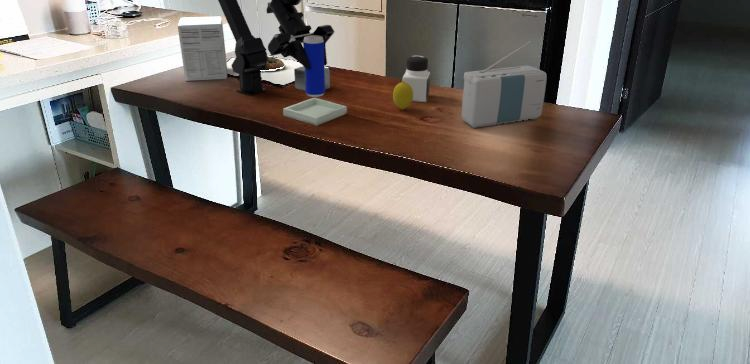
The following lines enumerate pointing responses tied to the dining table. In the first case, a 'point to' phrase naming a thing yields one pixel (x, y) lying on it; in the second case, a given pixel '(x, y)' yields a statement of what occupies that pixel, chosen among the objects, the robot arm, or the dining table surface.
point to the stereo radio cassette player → (503, 94)
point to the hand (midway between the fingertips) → (317, 66)
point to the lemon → (402, 95)
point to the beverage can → (314, 66)
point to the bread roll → (273, 63)
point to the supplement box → (202, 48)
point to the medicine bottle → (418, 77)
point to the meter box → (300, 78)
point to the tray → (315, 111)
